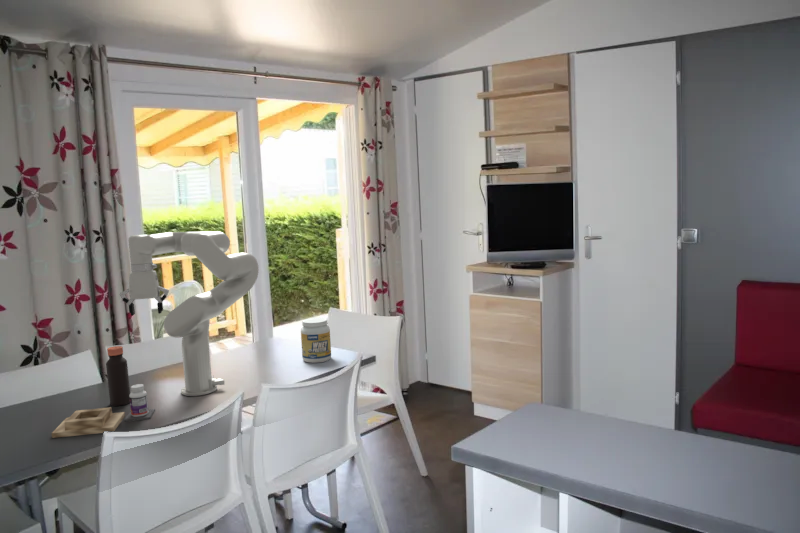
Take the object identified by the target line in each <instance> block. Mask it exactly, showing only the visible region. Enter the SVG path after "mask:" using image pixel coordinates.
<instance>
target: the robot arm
mask: <svg viewBox="0 0 800 533" xmlns="http://www.w3.org/2000/svg"><path fill="white" fill-rule="evenodd" d="M228 236H229V235H227V234H226V233H224V232H222V231H217V230H216V231H215V230H214V231H212V230H210V231H208V230H207V231H206V230H205V231H177V232H175V231H173V232H172V231H171V232H170V231H168V232H160V233H152V234H133V235H130V236H129V237H128V249H129V259H130V273H129V276H128V288H127V289H125V290H124V291H122V292H120V293H119V297H121V299H122V301H123V302H124V303H125V304H127V305H128V311H129V314H130V317H131V316H134V315H135V314H136V311H135V304H134V301H135V300H149V299H150V300H151V299H154V300H156V301H157V304H156V305H157V313H158V314H162V312H163V311H164V306H163V305H164V304H163V302H164V301H165V299H166V298H167V297H168V295H169V292H170V289H168V288H165V287H163V286H160V283H159V278H158V274H157V271H156V270H154V269H157V268H158V265H157V264H156V263H153V256H157V255H163V254H170V253H184V254H185V255H186V256H189V257H190V256H191V257H192V256H195V257H196V258H197V259H198V260H199V262H200V263H202V264H203V265H204V267H206V268H207V269H208V270H209V271H210V272H211V274H213V275H214V276H215V277H216V278H218V279H219V280H221V282H219V283H218V284H217V285H216V286H215V287H213V288H212V289H210V290H208V291H205V292H201V293H198V294H195V295H192V296H190V297H188V298H187V299H185V300H184V301H182V302H181V303H180V304H179V305H177V306H176V307H175V308H174V309H172V310H171V311H170V312H168V314H167V315H166V317H165V318H164V320H163V329H164V331H165V333H166V334H167V335H168V336H170V337H171V338H175V339H176V338H178V339H179V338H182V339H181V354H182V356H181V357H182V365H183V366H182V367H183V376H184V387H182V389H181V391H180V394H182V395H183V396H187V397H199V396H204V395H208V394H212V393H214V392H215V391H216V390H218V386H225V384H226V383H225V382H226V381H225V379H222V378H217V379H216V378H214V375H212V365H211V355H210V353H211V352H210V340H209V336H210V335H209V333H210V332H209V331H210V321H211V319H214V318H216V317H218V316H220V315H221V314H222V313H223V312H225V311H226V310H227V309H228V308H230V307H231V306H233V305H234V304H235V303H236V302H237V301H238V300H240V299H242V298H243V297H244V296H246V294H248V292H249V291H250V290H251V289H252V288H253V287H254V286H255V284H256V282H257V279H258V275H259V263H258V260H257V258H256V257H255V256H254V255H253V254H251V253H248V252H238V253H231V254H226V252H227V251H228V250H229V248H230V246H231V241H230V238H229V237H228ZM161 292H163V294H162V296H160V294H161ZM127 294H129V298H128V297H127V296H126V295H127Z"/></svg>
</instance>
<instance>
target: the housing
mask: <svg viewBox="0 0 800 533" xmlns="http://www.w3.org/2000/svg"><path fill="white" fill-rule="evenodd" d="M112 407H113V406H112ZM112 407H111V406H110V407H99V408H90V409H80V410H79V409H77V410H75V411H74V412H73V413H72V414H71V415H70V416H69V417H65V419H63V421H62V422H61V423H60V424H58V426H57V427H56V428H55V429H54V430H53V431H52V432H51V438H53V439H55V438H65V437H74V436H76V437H77V436H85V435H86V436H87V435H94V434H97V435H98V434H104V433H103V432H104V431H114V432H115V431H116V430H117V428H118V427H119V426H120V424H121V423H122V422H123V420H124V419H125V418H126V411H122V412H121V411H119V412H113V408H112Z"/></svg>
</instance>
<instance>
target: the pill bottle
mask: <svg viewBox="0 0 800 533" xmlns="http://www.w3.org/2000/svg"><path fill="white" fill-rule="evenodd" d="M144 389H145V386H144V384H143V383H137V384H133V385H130V395H129V398H130V403H129V405H130V411H131V415H132V416H133V417H140V416H145V415H147V414H148V412H149V402H148V393H147V391H146V390H144Z"/></svg>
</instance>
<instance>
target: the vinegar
mask: <svg viewBox="0 0 800 533" xmlns="http://www.w3.org/2000/svg"><path fill="white" fill-rule="evenodd" d="M123 355H124V348H123V346H119V345H117V346H111V347H108V348H107V357H108V358H109V359H108V360H107V361H106V363H105V368H106V376H107V377H106V378H107V385H108V386H107V387H108V396H109V405H110V406H112V407H120V406H125V405H129V404H130V398H129V395H130V393H131V385H130V379H129V378H130V377H129V376H130V375H129V366H128V360H127V359H126V358H125V357H124V356H123Z"/></svg>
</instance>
